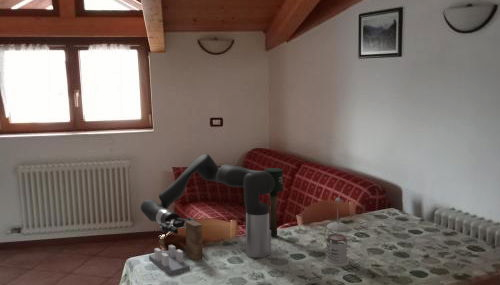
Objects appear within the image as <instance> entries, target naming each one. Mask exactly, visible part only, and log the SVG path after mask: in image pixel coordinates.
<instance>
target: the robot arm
mask: <svg viewBox="0 0 500 285" xmlns="http://www.w3.org/2000/svg"><path fill="white" fill-rule="evenodd" d="M196 172H197V173H198V175H199V176H200V177H201V179H203V180H205V181H209V182H215V183H216V182H217V183H220V184H223V185H225V186H229V187H232V188H243V200H244V201H243V203H244V207H245V254H246V256H247V257H249V258H256V259H257V258H265V257H268V256H269V255H270V254H271V253H272V237H271V230H270V204H268V203H266V202H262V201H260V196H265V195H267V194H270V192H271V191H272V190H273V189H274V186H275V181H274V178H273V177H272V175H271V174H270V173H268V172H266V171H265V170H254V169H250V168H247V167H243V166H240V165H236V164H232V163H225V164H223V165H221V166H220V167H219V166H218V164H217V163H216V162H215V161H214V159H213V158H212V157H211V156H210V154H208V153H204V154H201V155H200V156H198V157H197V158H196V159H194V160H193V162H191V164H190V165H189V166H187V168H185V170H184V171H183V172H181V174H180V175H179V176H178V177H177V178H176V179H175V181H173V182H172V183H171V184H170V185H169V186H168V187H166V188H165V189H164V190H163V191H161V192H160V193H159V195H158V198H159V200H160V204H159V203H158V202H157V201H156V200H154V199H150V198H149V199H145V200H144V201H143V202H142V203H141V205H140V210H141V212H142V213H143V214H144V215H145V216H146V217H147V219H148V220H149V221H150V222H155V223H157V224H159V230H160V231H162V232H164V233H166V234H168V232H169V233H172V234H175V235H178V234H179V229H181V228H183V229H186V221H190V220H194V221H196V222H197V220H196V219H195V218H192V217H190V216H187V217H186V218H182V217H181V216H180V215H179V214H178V213H176V211H173V210H171V209H169V207H170V206H171V205H172V204H173V203H174V202H176V201H177V200H178V199H179V198H180V197H182V195H183V194H184V192H185V190H186V188H187V185H188V183H189V181H190V179H191V177H192V176H193V175H194V174H195V173H196Z"/></svg>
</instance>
